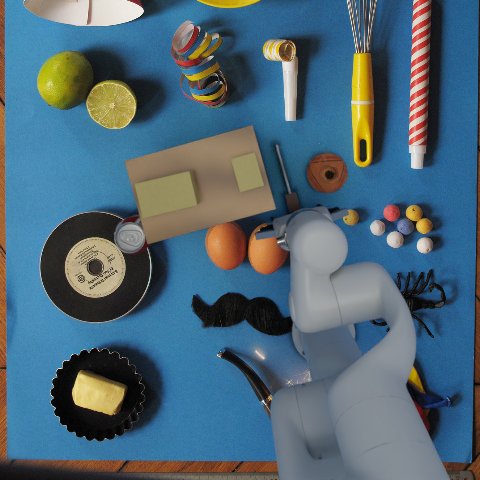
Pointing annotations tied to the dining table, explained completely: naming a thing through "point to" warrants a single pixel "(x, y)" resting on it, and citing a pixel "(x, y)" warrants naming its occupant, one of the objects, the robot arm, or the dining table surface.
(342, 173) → the pot
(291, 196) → the knife
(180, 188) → the butter block
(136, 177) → the cutting board
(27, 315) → the dining table surface
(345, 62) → the dining table surface
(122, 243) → the soda can
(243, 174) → the butter slice
